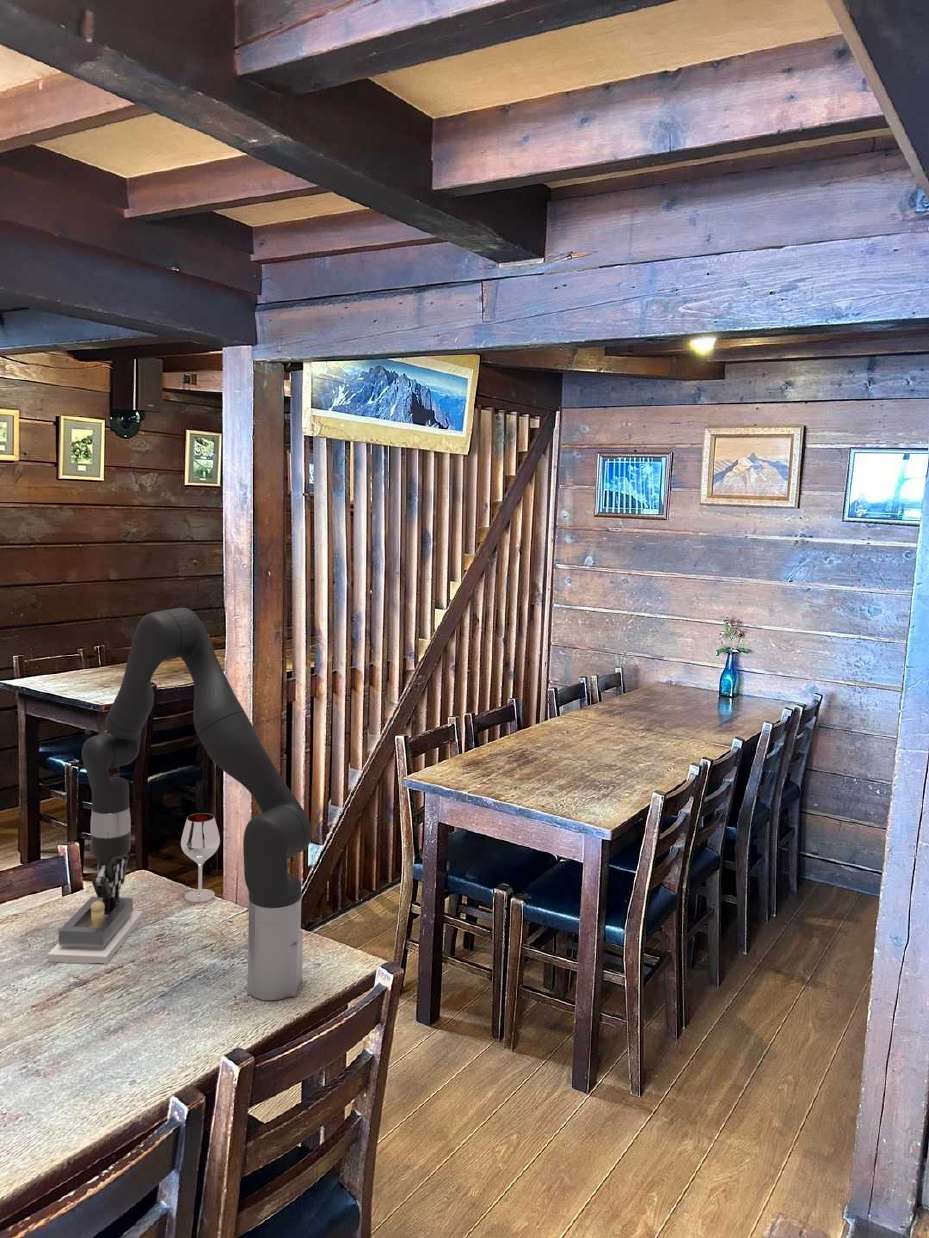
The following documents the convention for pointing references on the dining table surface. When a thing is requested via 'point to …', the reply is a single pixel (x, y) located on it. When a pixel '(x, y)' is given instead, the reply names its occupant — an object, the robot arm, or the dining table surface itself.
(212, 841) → the wineglass
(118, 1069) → the dining table surface
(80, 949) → the board
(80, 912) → the grey rectangular frame
